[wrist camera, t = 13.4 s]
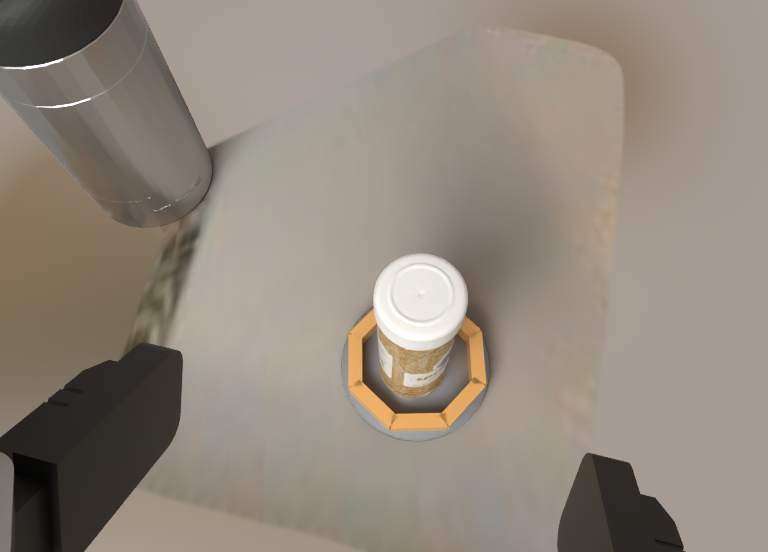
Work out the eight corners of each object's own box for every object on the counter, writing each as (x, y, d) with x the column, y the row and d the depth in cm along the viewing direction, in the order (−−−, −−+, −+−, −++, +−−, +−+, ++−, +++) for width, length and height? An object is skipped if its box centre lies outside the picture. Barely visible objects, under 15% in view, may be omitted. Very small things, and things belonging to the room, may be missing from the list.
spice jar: (435, 408, 40) (454, 352, 27) (369, 387, 40) (359, 323, 28) (453, 344, 42) (480, 264, 29) (390, 325, 42) (389, 238, 30)
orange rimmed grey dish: (311, 368, 42) (308, 360, 40) (411, 271, 44) (412, 259, 42) (419, 474, 39) (421, 471, 37) (518, 364, 42) (524, 356, 40)
